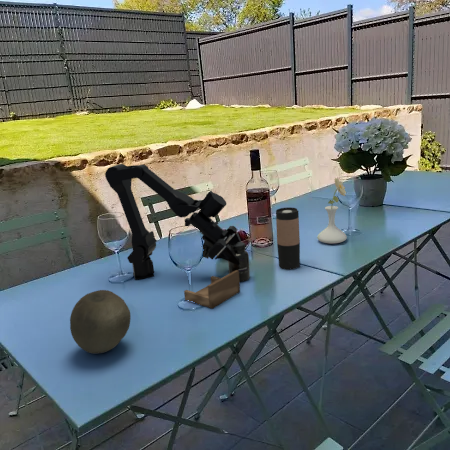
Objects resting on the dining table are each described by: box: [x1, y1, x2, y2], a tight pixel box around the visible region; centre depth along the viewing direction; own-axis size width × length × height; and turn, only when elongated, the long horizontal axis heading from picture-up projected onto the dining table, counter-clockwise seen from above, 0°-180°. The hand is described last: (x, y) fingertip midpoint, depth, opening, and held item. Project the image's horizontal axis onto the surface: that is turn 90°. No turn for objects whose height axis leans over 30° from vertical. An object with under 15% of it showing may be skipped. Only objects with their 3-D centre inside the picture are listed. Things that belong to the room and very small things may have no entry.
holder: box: [183, 270, 241, 310], centre depth 130 cm, size 11×13×7 cm
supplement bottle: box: [227, 241, 251, 283], centre depth 141 cm, size 7×7×12 cm
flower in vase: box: [316, 177, 348, 244], centre depth 167 cm, size 13×11×25 cm
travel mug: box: [275, 207, 301, 271], centre depth 146 cm, size 8×8×20 cm
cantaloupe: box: [69, 289, 131, 355], centre depth 105 cm, size 14×14×15 cm
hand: (242, 259), depth 140 cm, fingers open, 9 cm apart
